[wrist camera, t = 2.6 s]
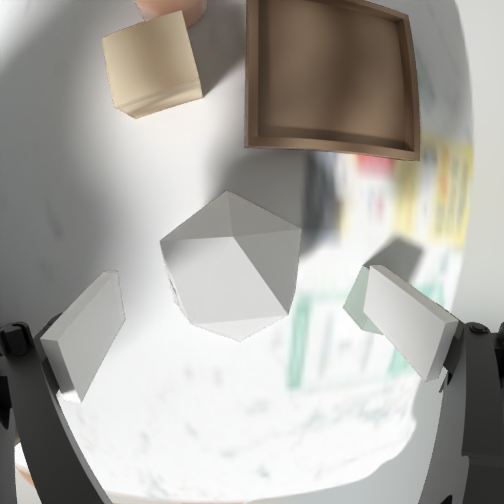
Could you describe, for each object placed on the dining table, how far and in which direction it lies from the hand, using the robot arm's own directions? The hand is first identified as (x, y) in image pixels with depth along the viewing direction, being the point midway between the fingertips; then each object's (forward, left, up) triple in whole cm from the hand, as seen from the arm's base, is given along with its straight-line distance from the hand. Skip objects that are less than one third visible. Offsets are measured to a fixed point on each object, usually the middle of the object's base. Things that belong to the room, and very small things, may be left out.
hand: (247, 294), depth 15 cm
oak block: (-5, +13, -8) cm, 16 cm away
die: (0, 0, -8) cm, 8 cm away
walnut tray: (+7, +14, -8) cm, 17 cm away
